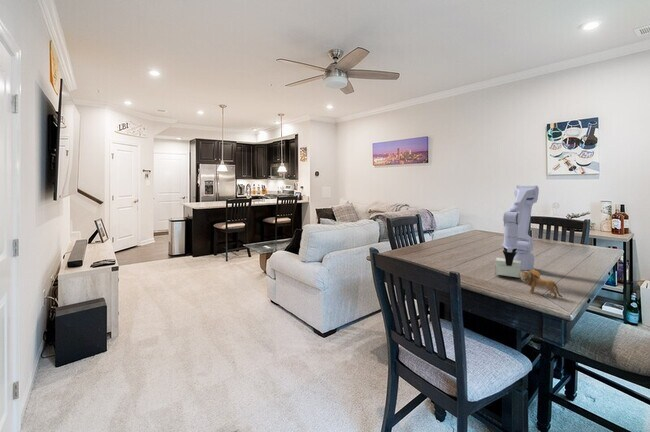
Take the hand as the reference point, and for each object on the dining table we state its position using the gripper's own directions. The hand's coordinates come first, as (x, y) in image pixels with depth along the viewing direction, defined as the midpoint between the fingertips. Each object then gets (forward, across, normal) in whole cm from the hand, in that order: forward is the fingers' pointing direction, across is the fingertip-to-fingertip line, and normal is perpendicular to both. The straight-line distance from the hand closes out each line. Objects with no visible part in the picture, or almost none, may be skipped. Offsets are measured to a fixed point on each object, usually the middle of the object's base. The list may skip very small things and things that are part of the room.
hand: (508, 263), depth 152 cm
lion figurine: (+7, +20, +12) cm, 24 cm away
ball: (+4, 0, +10) cm, 11 cm away
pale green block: (+5, 0, 0) cm, 5 cm away
